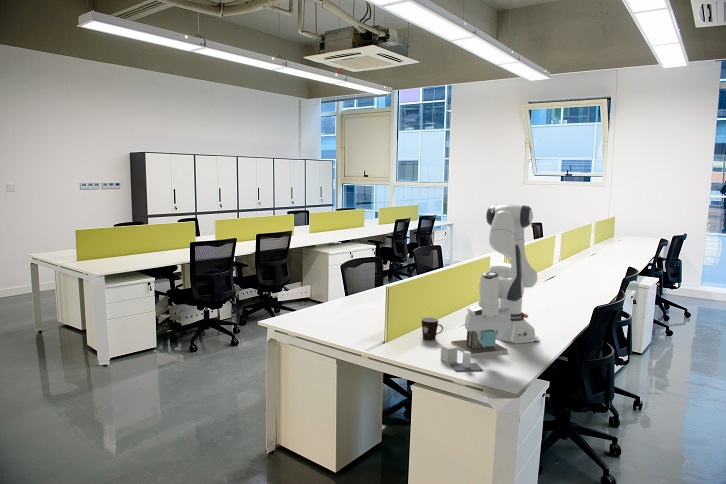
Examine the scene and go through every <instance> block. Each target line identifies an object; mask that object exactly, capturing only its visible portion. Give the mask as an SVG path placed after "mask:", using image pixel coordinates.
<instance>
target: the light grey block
mask: <svg viewBox="0 0 726 484" xmlns="http://www.w3.org/2000/svg"><path fill="white" fill-rule="evenodd" d="M440 346H441V347H440V361H443V362H444V363H446V364H450V363H458V350H459V349H458V347H456V346H454V345H452V344H451V343H449V344H442V345H440Z"/></svg>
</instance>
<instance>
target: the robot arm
mask: <svg viewBox="0 0 726 484" xmlns="http://www.w3.org/2000/svg"><path fill="white" fill-rule="evenodd" d="M485 219H486V222H487V224H488V225H489V226H490V230H489V238H488V240H489V241H488V243H489V245H490V247H491V248H492V249H493V250H494V251H495V252H496V253H499V254H501V255H503V256H504V257H505V258H506V259H507V260H508V261H509V263H507V262H495V263H493V264H491V266H490V267H489V270H488V271H486V272H483V273H481V275H480V279H479V284H478V286H479V287H478V294H479V299H478V303H477V304H474V305H471V306H468V307H467V312H468V313H467V314H466V316H465V320H464V328H465V330H468V331H476V333H477V335H478V340H483V339H482V338H483V336H481V335H480V334H479V333H481V331H487V330H494V331H496V339H495V341H496V340H500V341H504V342H506V343H507V342H508V343H512V344H526V343H535V342H534V341H538V342H540V338H539V336H538V335H536V331H535V327H534V326H532V324H530V323H529V322H528V321H527V319H528V318H529V315H528V314H527V313H524V312H522V308H523V296H524V292H525V290H524V288H525V289H527V288H533V287H534V286H535V285H536V284H537V281H538V274H537V271H536V270H535V268H533V267H532V265H531V264H530V263H529V261H528V258H527V256H526V250H525V229H526V228H527V227H529V226H530V225H531V224H532V222H533V219H534V213H533V210H532V208H531V206H529V205H520V204H501V205H497V204H495V205H491V206H490V207H488V208H487V211H486V214H485Z"/></svg>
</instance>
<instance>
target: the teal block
mask: <svg viewBox="0 0 726 484" xmlns="http://www.w3.org/2000/svg"><path fill="white" fill-rule="evenodd" d="M480 335H481V336H483V338H482V339H483V340H479V343H480V344H482V345H483V346H484V347H486V346H495V343H496V340H497V339H496V331H495V330H487V331H481V333H480ZM495 339H496V340H495Z"/></svg>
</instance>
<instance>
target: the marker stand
mask: <svg viewBox="0 0 726 484" xmlns="http://www.w3.org/2000/svg"><path fill="white" fill-rule="evenodd" d="M471 360H472V357H471V353H470V352H469V351H463V352H462V362H460V363H459V362H453V363H449V365H450V367H451V368H452V369H453V370H454V371H455V373H457V372H458V373H459V372H460V373H461V372H483V371H484V369H483V368H482V367H481V366H480V365H479V364H478V363H477V362H472V361H471Z"/></svg>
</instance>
